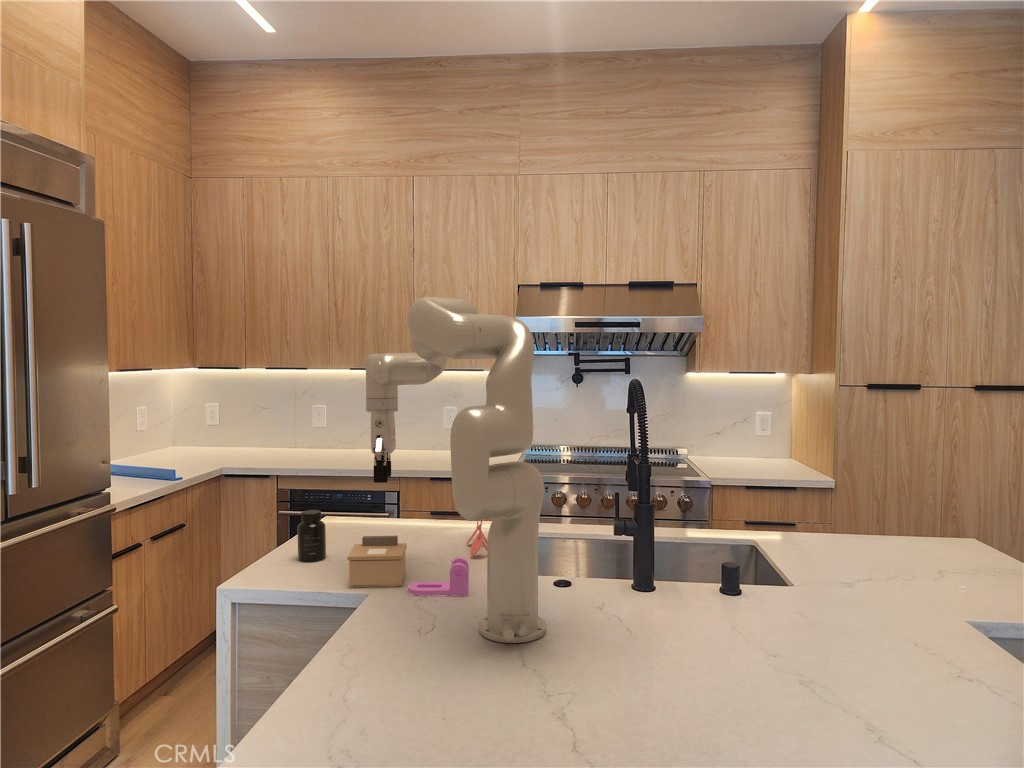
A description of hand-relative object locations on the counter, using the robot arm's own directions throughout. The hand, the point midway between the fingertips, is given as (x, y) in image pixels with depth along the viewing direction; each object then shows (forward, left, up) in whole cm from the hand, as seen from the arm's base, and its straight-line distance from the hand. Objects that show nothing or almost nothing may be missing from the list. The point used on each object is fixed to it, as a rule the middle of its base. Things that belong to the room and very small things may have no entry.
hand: (382, 478), depth 165 cm
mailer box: (-10, 0, -22) cm, 24 cm away
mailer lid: (-10, 0, -15) cm, 18 cm away
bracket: (-18, -14, -22) cm, 31 cm away
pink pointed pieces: (+12, -19, -22) cm, 32 cm away
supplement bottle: (+8, +19, -22) cm, 30 cm away
